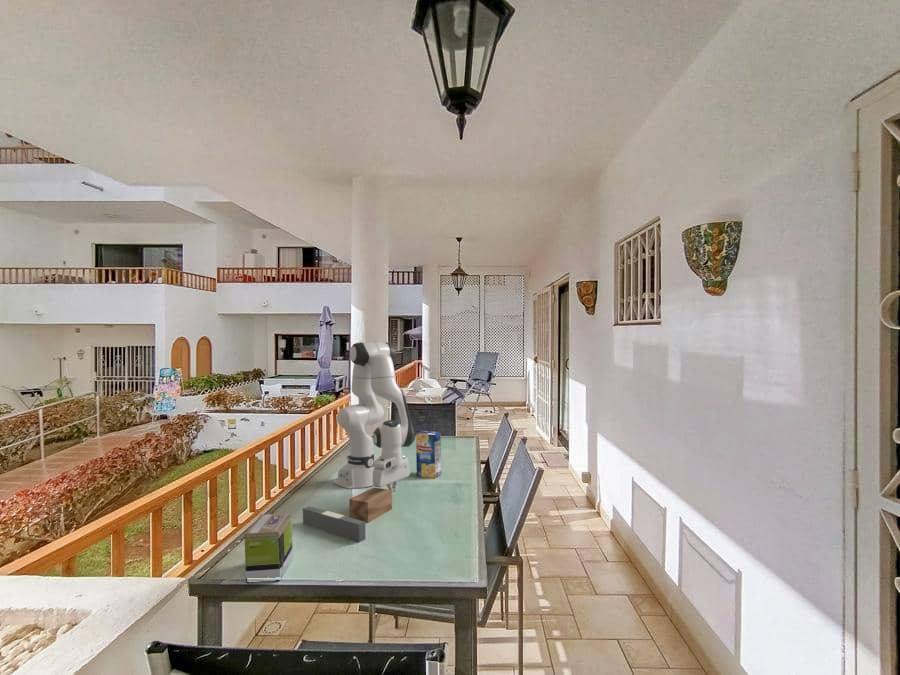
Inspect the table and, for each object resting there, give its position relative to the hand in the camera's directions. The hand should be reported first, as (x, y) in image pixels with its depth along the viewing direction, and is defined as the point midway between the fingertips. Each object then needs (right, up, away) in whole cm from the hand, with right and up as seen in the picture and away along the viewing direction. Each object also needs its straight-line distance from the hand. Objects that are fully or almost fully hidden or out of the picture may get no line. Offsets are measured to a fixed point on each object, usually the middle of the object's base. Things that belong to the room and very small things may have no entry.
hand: (392, 492), depth 195 cm
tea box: (-30, -5, -55) cm, 63 cm away
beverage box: (+14, -6, +42) cm, 44 cm away
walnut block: (-7, -5, -11) cm, 14 cm away
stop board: (-18, -5, -27) cm, 33 cm away
